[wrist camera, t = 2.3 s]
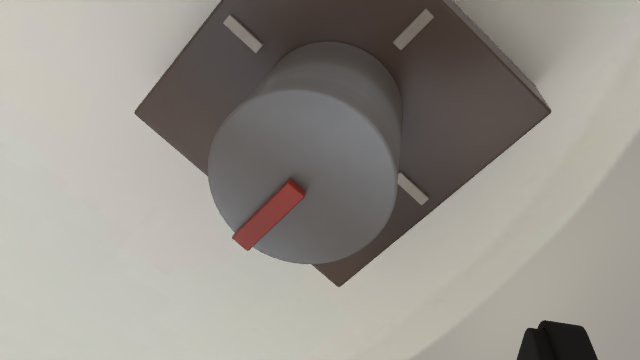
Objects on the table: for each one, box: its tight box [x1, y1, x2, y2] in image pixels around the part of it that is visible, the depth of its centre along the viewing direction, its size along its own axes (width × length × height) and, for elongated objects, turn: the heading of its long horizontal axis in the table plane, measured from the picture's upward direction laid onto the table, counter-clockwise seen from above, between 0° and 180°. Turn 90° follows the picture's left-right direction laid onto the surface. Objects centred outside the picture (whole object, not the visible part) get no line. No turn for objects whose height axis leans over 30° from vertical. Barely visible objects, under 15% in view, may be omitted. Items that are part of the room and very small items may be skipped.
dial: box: [208, 41, 403, 264], centre depth 17 cm, size 5×5×6 cm
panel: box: [135, 0, 551, 287], centre depth 21 cm, size 10×10×3 cm
